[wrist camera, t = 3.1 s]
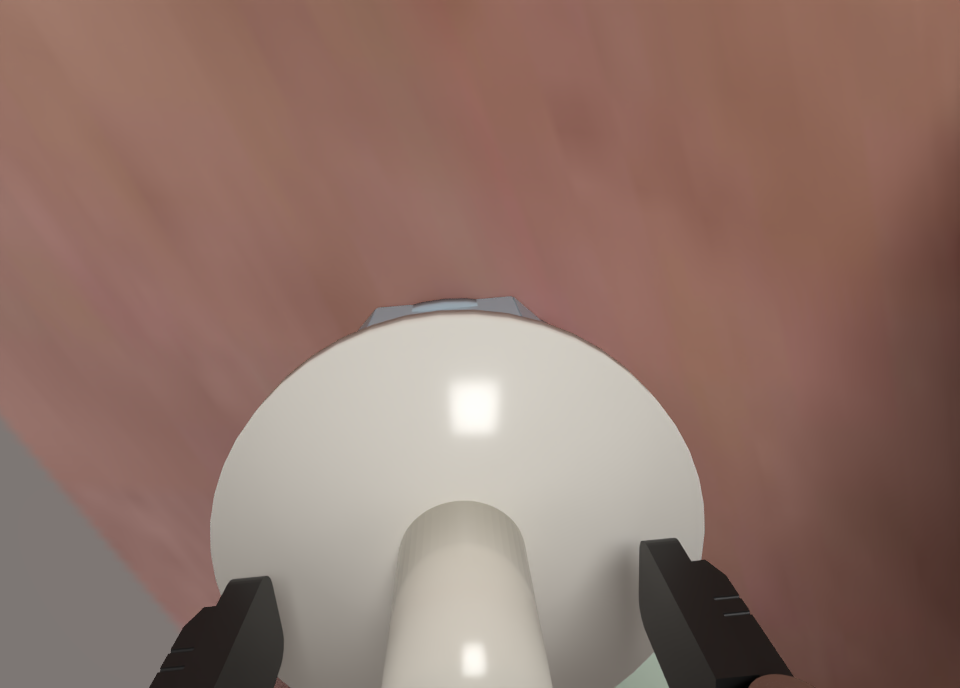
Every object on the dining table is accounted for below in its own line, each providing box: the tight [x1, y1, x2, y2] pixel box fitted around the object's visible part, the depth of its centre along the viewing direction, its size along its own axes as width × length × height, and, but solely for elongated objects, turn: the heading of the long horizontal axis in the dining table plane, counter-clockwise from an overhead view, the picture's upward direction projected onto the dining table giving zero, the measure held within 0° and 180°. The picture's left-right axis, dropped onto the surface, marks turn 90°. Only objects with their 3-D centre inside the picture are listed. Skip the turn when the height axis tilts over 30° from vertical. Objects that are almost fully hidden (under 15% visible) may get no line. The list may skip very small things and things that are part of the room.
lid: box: [210, 310, 705, 688], centre depth 12 cm, size 12×12×5 cm
